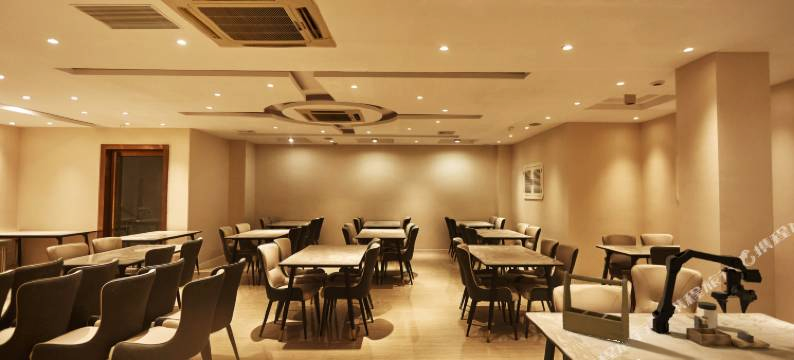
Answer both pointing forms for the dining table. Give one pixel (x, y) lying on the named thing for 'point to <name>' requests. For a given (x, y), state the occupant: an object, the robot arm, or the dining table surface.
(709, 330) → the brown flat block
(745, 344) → the lid
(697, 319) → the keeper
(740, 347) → the mat
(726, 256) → the robot arm
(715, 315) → the jar
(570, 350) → the dining table surface
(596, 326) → the caddy
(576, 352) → the dining table surface
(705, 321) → the tan wooden bar
